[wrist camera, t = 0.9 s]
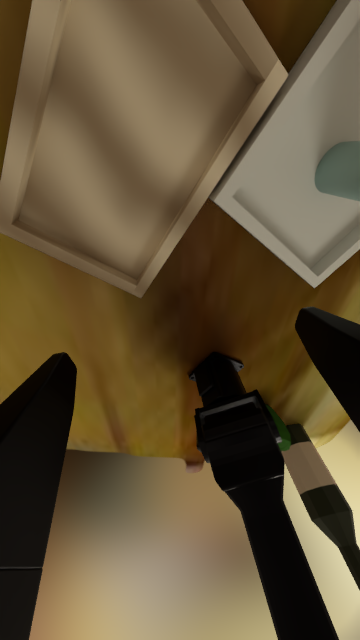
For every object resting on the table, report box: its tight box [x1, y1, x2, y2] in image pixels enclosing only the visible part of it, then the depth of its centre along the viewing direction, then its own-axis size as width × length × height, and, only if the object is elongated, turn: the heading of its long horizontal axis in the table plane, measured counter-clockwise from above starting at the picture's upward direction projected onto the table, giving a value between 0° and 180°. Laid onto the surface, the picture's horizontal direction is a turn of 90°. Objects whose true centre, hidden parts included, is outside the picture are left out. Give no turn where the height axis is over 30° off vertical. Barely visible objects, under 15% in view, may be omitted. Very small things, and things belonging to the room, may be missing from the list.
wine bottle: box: [281, 424, 360, 590], centre depth 44 cm, size 8×8×30 cm
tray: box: [0, 0, 289, 298], centre depth 14 cm, size 18×12×2 cm, turn 145°
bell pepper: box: [266, 405, 291, 451], centre depth 40 cm, size 8×8×10 cm
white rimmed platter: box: [208, 0, 360, 288], centre depth 16 cm, size 15×15×2 cm
